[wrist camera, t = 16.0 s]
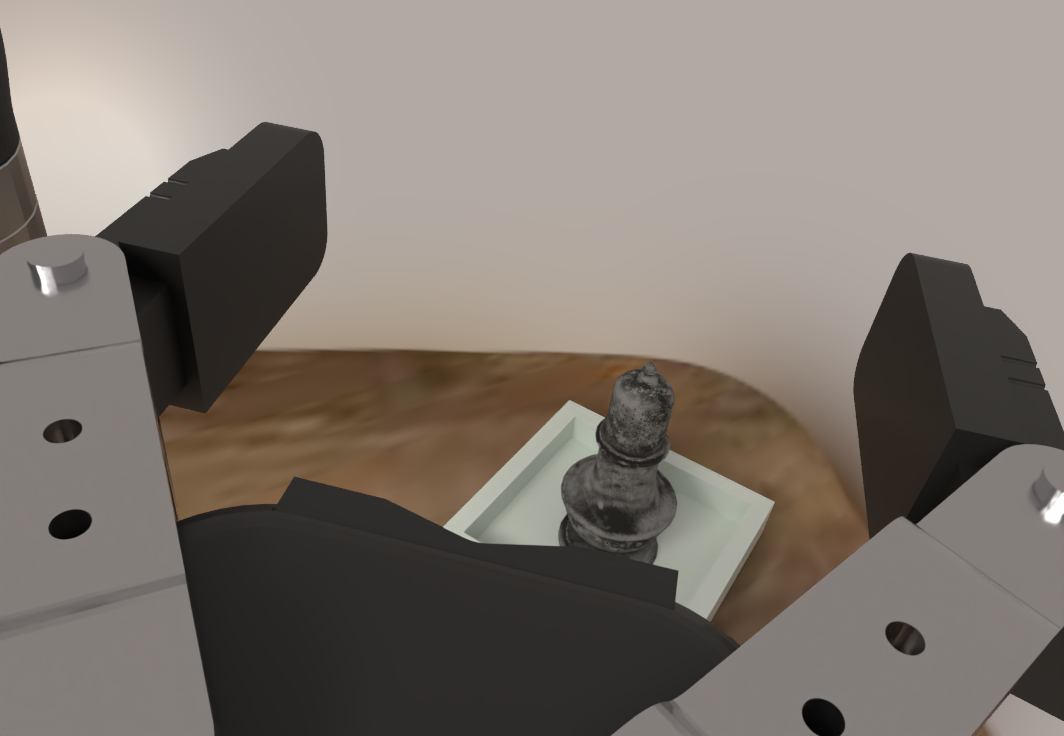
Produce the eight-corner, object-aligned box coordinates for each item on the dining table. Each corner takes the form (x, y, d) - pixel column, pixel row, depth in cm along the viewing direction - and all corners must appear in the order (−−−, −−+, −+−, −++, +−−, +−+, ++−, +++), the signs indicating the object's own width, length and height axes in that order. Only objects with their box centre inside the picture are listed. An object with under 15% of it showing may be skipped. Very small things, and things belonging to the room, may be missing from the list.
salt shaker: (628, 488, 49) (672, 314, 42) (684, 567, 45) (744, 391, 38) (534, 514, 47) (562, 335, 40) (584, 600, 43) (626, 419, 36)
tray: (433, 567, 45) (434, 534, 43) (563, 430, 54) (569, 400, 52) (660, 708, 40) (672, 677, 38) (762, 532, 49) (775, 502, 47)
